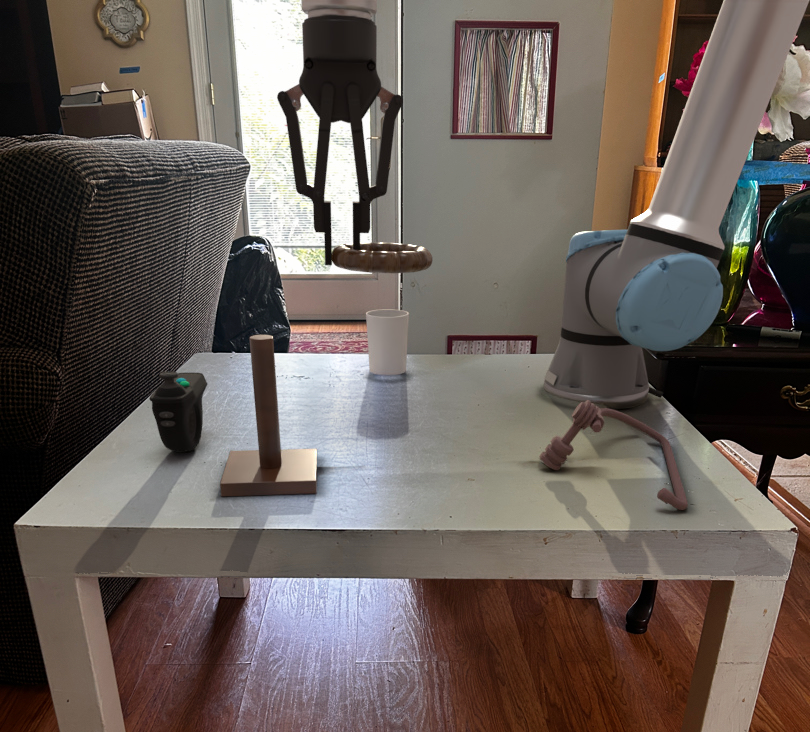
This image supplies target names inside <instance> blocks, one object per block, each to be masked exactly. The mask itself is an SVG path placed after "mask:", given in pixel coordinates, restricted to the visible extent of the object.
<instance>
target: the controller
mask: <svg viewBox="0 0 810 732" xmlns="http://www.w3.org/2000/svg"><path fill="white" fill-rule="evenodd" d="M158 375H159V376H158V377H159V378H160V379H161V380H164V381H163V382H162V383H161V384H160V385H159V386H158V387H157V388H156V389H155V390H154V391H153V392H152V393H151V395H150V396H149V401H150V402H151V410H152V415H153V418H154V420H155V422H156V423H155V424H156V426H157V432H158V434H159V438H160V441H161V442H162V444H163V445H164V448H166V449H167V450H170V451H172V452H190V451H193V450H194V449H196V448H197V447H198V445H199V443H200V442H201V437H202V431H203V422H204V421H203V419H204V418H203V417H204V414H203V413H204V410H203V395H204V392H205V391H206V388H207V386H208V382H207V379H206V378H205V375H204V373H201V372H177V371H173V370H171V371H170V370H167V371H162V372H160V373H159V374H158Z"/></svg>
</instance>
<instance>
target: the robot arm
mask: <svg viewBox="0 0 810 732" xmlns="http://www.w3.org/2000/svg"><path fill="white" fill-rule="evenodd" d="M809 3H810V0H722V4H721V6H720V10H719V12H718V15H717V18H716V20H715V23H714V26H713V29H712V31H711V34H710V37H709V40H708V43H707V45H706V48H705V51H704V53H703V57H702V59H701V62H700V65H699V68H698V71H697V73H696V76H695V79H694V82H693V85H692V86H691V90H690V92H689V95H688V98H687V101H686V104H685V106H684V109H683V112H682V114H681V118H680V120H679V122H678V126H677V129H676V131H675V135H674V137H673V140H672V143H671V145H670V148H669V151H668V154H667V156H666V159H665V162H664V165H663V167H662V170H661V173H660V176H659V179H658V181H657V184H656V187H655V190H654V192H653V195H652V198H651V201H650V204H649V206H648V208H647V210H646V211H644V212H643V213H641V214H640V215H638V216H636V217H634V218H633V219H631V220H630V222H629V225H628V227H627V229H605V230H589V231H588V230H587V231H580V232H577V233H575V234H573V236H571V238H570V240H569V244H568V250H567V255H566V257H565V263H566V267H565V277H564V278H565V279H564V288H563V289H564V290H563V301H562V311H561V312H562V313H561V325H560V326H561V327H560V335H559V342H558V345H557V347H556V349H555V352H554V355H553V357H552V359H551V361H550V364H549V367H548V368H547V370H546V371H545V375H544V377H543V385H542V386H543V389H544V390H545V392H547V393H549V394H550V395H553V396H554V397H558V398H560V399H565V400H569V401H574V402H578V403H579V402H580V403H581V402H584V403H585V402H586V401H587V400H589V401H590V402H591V403H593V404H601V405H603V406H605V408H608V409H613V410H623V409H631V408H635V407H639V406H640V405H643V404H644V403H645V402H647V401H648V398H649V394H650V395H652V396H654V397H657V398H659V399H661V398H662V397H663V395H664V392H663V391H660V390H658V389H655V388H653V387H651V386H650V384H649V378H648V371H647V367H646V362H645V357H644V350H643V349H648V350H650V351H654V352H655V351H656V352H669V351H676V350H678V349H682V348H683V347H685V346H687V345H689V344H691V343H693V342H695V341H696V340H697V339H699V338H700V337H701V336H702V335H703V334H704V333H706V331H707V330H708V329H709V328H710V327H711V326H712V324H713V323H714V320H715V319H716V318H717V315H718V313H719V311H720V308H721V305H722V302H723V297H724V286H723V284H722V282H721V275H720V272H719V270H718V269H717V268H718V266H719V264H720V261H721V259H722V255H723V253H724V251H725V248H726V247H725V244H724V242H723V239H722V237H721V235H720V226H721V223H722V221H723V218H724V216H725V213H726V211H727V208H728V206H729V203H730V201H731V198H732V196H733V193H734V191H735V188H736V186H737V183H738V181H739V179H740V176H741V174H742V171H743V169H744V166H745V164H746V160H747V159H748V155H749V153H750V151H751V149H752V146H753V143H754V141H755V138H756V135H757V133H758V131H759V128H760V125H761V123H762V120H763V118H764V116H765V113H766V111H767V108H768V105H769V103H770V100H771V98H772V95H773V93H774V90H775V88H776V85H777V84H778V80H779V78H780V76H781V73H782V70H783V67H784V65H785V63H786V60H787V57H788V55H789V53H790V50H791V48H792V46H793V45H792V44H793V42H794V40H795V37H796V35H797V32H798V30H799V28H800V26H801V23H802V20H803V18H804V15H805V13H806V10H807V7H808V5H809ZM301 11H302V12H303V13H304V14H305V15H307V17H306V18H305V19H304V21H303V22H302V23H301V28H302V61H303V65H302V66H303V67H302V72H301V74H300V76H299V79H298V84H296V85H294V86H292V87H290V88H288V89H286V90H281V91H279V92H278V93H277V96H276V99H277V102H278V103H279V106H280V108H281V110H282V112H283V114H284V117H285V120H286V129H287V134H288V143H289V150H290V156H291V164H292V169H293V170H292V171H293V178H294V185H295V190H296V193H298V194H299V195H302V196H304V197H307V198H309V199H310V200H311V201H312V206H313V207H312V208H313V209H312V210H313V212H312V213H313V229H314V232H315V233H321V234H323V233H324V234H323V235H324V265H325V266H332V265H333V262H332V251H333V245H332V242H333V241H332V239H333V238H332V201H331V200H325V195H326V193H325V192H326V183H327V174H328V173H327V172H328V160H329V151H330V139H331V129H332V123H333V124H334V123H338V122H343V123H346V124H349V125H350V131H351V139H352V148H353V149H352V150H353V156H354V165H355V174H356V175H355V176H356V181H357V182H356V183H357V191H358V201H356V200H355V201H354V200H353V201H352V243H353V250H360V243H361V234H369V233H370V231H371V204H372V202H373V200H375V199H378V198H380V197H384V196H385V195H387V192H388V186H389V178H390V177H389V176H390V168H391V159H392V151H393V141H394V135H395V134H394V133H395V125H396V120H397V117H398V115H399V114H400V113H399V112H400V111H401V109H402V106H403V103H404V99H403V97H402V96H401V94H394V93H393V92H392V91H390V90H388V89H386V88H385V87H383V86H382V80H381V79H380V77H379V74H378V70H377V45H378V43H377V42H378V41H377V36H378V35H377V34H378V32H377V30H378V29H377V25H376V24H375V22H374V21H373V19H371V18H372V17H374V16H375V15H376V14H377V12H378V0H301ZM302 96H304V97H305V99H306V100H307V102H308V103H309V105H310V107H311V108H312V109H313V111H314V112H315V114H316V115H317V117H318V118H319V119H318V120H319V121H318V132H317V145H316V157H315V166H314V167H315V168H314V179H313V185H312V184H310V183H308V178H307V170H306V162H305V155H304V149H303V148H304V147H303V140H302V133H301V126H300V125H301V124H300V119H299V114H298V111H300V110H301V108H302V102H301V99H302ZM377 98H378V99H379V111H380V113H382V114H383V117H382V121H381V122H382V123H381V130H380V138H379V139H380V140H379V148H378V149H379V150H378V159H377V166H376V167H377V168H376V175H375V184H374V185H372V186H370V181H369V180H370V179H369V172H368V171H369V170H368V162H367V161H368V160H367V153H366V144H365V136H364V125H363V119H364V117H365V116H366V114H367V113H368V111H369V110H370V108H371V106H372V105H373V103H374V102H375V100H376V99H377ZM591 403H590V404H591Z"/></svg>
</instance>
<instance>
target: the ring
mask: <svg viewBox="0 0 810 732" xmlns="http://www.w3.org/2000/svg"><path fill="white" fill-rule="evenodd" d="M332 264H333V265H334V266H335V267H337V268H339V269H343V270H347V271H352V272H361V273H370V274H408V273H410V274H411V273H417V272H421V271H425V270H428V269H429V268H430V267H431V266H432V264H433V254H431V252H430V251H429V249H427V248H426V247H424V246H419V245H413V244H408V243H407V244H405V243H395V242H371V241H370V242H369V241H367V242H366V241H365V242H360V250H353V242H348V243H341V244H337V245H336V246H334V248H332Z"/></svg>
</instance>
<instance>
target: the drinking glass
mask: <svg viewBox="0 0 810 732" xmlns="http://www.w3.org/2000/svg"><path fill="white" fill-rule="evenodd" d="M409 317H410V313H409V312H408V311H406V310H402V309H401V310H400V309H392V308H391V309H389V308H388V309H373V310H369V311H367V312H365V320H366V321H365V323H366V339H367V351H368V352H367V354H368V368H369V369H368V370H369V372H370V373H371V374H374V375H378V376H379V375H380V376H396V375H401V374H404V373H406V372H407V357H408V341H409V340H408V338H409V336H408V335H409V319H410V318H409Z"/></svg>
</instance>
